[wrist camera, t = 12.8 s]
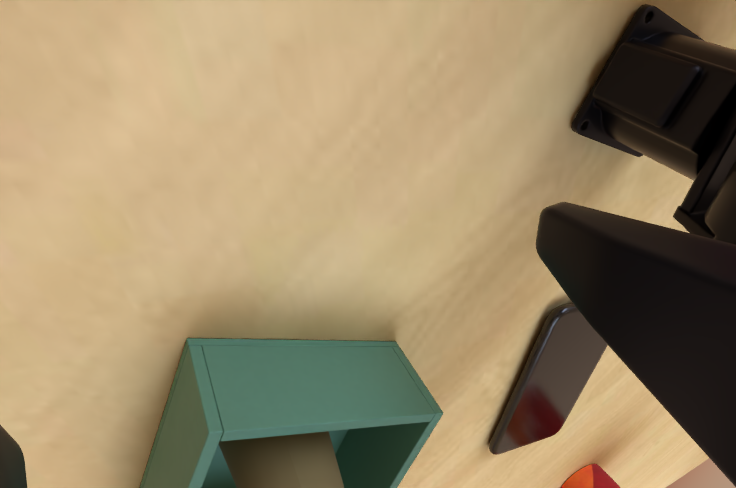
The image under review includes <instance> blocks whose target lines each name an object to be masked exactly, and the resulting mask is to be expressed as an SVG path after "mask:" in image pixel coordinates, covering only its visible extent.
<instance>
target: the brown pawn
mask: <svg viewBox="0 0 736 488" xmlns="http://www.w3.org/2000/svg"><path fill="white" fill-rule="evenodd" d="M219 447H220V449H221V451H222V454H223V456H224V459H225V461H226V463H227V466H228V468H229V470H230V473H231V475H232V477H233V480H234V482H235V484H236V487H237V488H344V485H343V481H342V478H341V474H340V471H339V467H338V463H337V460H336V456H335V452H334V449H333V445H332V442H331V438H330V434H329V431H326V432H315V433H305V434H294V435H284V436H273V437H263V438H252V439H242V440H231V441H219Z"/></svg>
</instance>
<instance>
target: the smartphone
mask: <svg viewBox="0 0 736 488" xmlns="http://www.w3.org/2000/svg"><path fill="white" fill-rule="evenodd" d="M607 345H608V344H607V343H606V342H605V341H604V340H603V339H602V338H601V337H600V335H599V334H598V333H597V332H596V331H595V330H594V329H593V328H592V326H591V325H590V324H589V323H588V322H587V320H586V319H585V318H584V317H583V315H582V314H581V313H580V312H579V310H578V309H577V308H576V306H575V305H574V304H573V303H570V304H565V305H561V306H559V307H557V308H555V309H554V310H553V311H552V312H551V313H550V314H549V315H548V317H547V319H546V321H545V323H544V325H543V328H542V330H541V332H540V334H539V336H538V339H537V341H536V343H535V345H534V347H533V349H532V352H531V354H530V356H529V358H528V360H527V363H526V365H525V367H524V369H523V371H522V374H521V376H520V378H519V380H518V382H517V385H516V387H515V389H514V391H513V393H512V396H511V398H510V400H509V402H508V404H507V406H506V409H505V411H504V413H503V415H502V417H501V420H500V422H499V424H498V426H497V428H496V431H495V433H494V435H493V437H492V439H491V442H490V444H489V450H490V452H491V453H493V454H501V453H504V452H507V451H510V450H513V449H516V448H519V447H522V446H525V445H528V444H530V443H533V442H536V441H539V440H542V439H545V438H548V437H551V436H553V435H555V434H556V433H557V432H558V431H559V430H560V429H561V428H562V426H563V424H564V422H565V421H566V419H567V417H568V415H569V413H570V412H571V410H572V408H573V406H574V404H575V403H576V401H577V399H578V397H579V396H580V394H581V392H582V390H583V388H584V387H585V385H586V383H587V381H588V379H589V378H590V376H591V374H592V372H593V370H594V369H595V367H596V365H597V363H598V362H599V360H600V358H601V356H602V354H603V353H604V351H605V349H606V347H607Z"/></svg>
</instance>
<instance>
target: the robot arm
mask: <svg viewBox="0 0 736 488" xmlns="http://www.w3.org/2000/svg"><path fill="white" fill-rule="evenodd" d="M572 130H573V131H574V132H576V133H578V134H580V135H582V136H585V137H587V138H590V139H593V140H595V141H598V142H601V143H603V144H606V145H608V146H611V147H614V148H616V149H619V150H621V151H624V152H627V153H629V154H632V155H635V156H637V157H640V156H643V155H645V156H647V157H649V158H651V159H653V160H655V161H657V162H659V163H661V164H663V165H665V166H667V167H669V168H671V169H673V170H675V171H676V172H678V173H680V174H682V175H684V176H686V177H688V178H690V179H692V180H694V182H693V184H692V186H691V188H690V190H689V191H688V193H687V195H686V197H685V199H684V201H683V203H682V205H681V206H678V208H677V210H676V211H675V213H674V215H673V217H674V218H675V219H676V220H677V221H678V222H679V223H680V224H682V225H683V226H684V227H685V229H686V230H687V231H688V232H690V233H687V232H683V231H679V230H675V229H671V228H667V227H663V226H659V225H655V224H651V223H647V222H643V221H639V220H635V219H631V218H627V217H623V216H619V215H615V214H611V213H607V212H603V211H599V210H595V209H591V208H587V207H583V206H579V205H575V204H571V203H567V202H561V203H557V204H555V205H552V206H549V207H546V208H545V209H543V210H542V212H541V214H540V218H539V225H538V231H537V238H536V249H537V253H538V255H539V257H540V258H541V260H542V261H543V262H544V264H545V265H546V267H547V268H548V269H549V271H550V272H551V273H552V275H553V276H554V277H555V279H556V280H557V282H558V283H559V284H560V286H561V287H562V288H563V290H564V291H565V293H566V294H567V295H568V297H569V298H570V299H571V301H572V302H573V304H574V305H575V306H576V308H577V309H578V310H579V312H580V313H581V314H582V315H583V317H584V318H585V319H586V320H587V322H588V323H589V324H590V325H591V326H592V328H593V329H594V330H595V331H596V332H597V333H598V334H599V335H600V337H601V338H602V339H603V340H604V341H605V342H606V343H607V344H608V345H609V347H610V348H611V349H612V350H613V351H614V352H615V353H616V354H617V355H618V357H619V358H620V359H621V360H622V361H623V362H624V363H625V364H626V365H627V367H628V368H629V369H630V370H631V371H632V372H633V373H634V374H635V375H636V377H637V378H638V379H639V380H640V381H641V382H642V383H643V384H644V385H645V387H646V388H647V389H648V390H649V391H650V392H651V393H652V394H653V395H654V397H655V398H656V399H657V400H658V401H659V402H660V403H661V404H662V405H663V407H664V408H665V409H666V410H667V411H668V412H669V413H670V414H671V415H672V417H673V418H674V419H675V420H676V421H677V422H678V423H679V424H680V425H681V427H682V428H683V429H684V430H685V431H686V432H687V433H688V434H689V435H690V437H691V438H692V439H693V440H694V441H695V442H696V443H697V444H698V445H699V447H700V448H701V449H702V450H703V451H704V452H705V453H706V454H707V455H708V457H709V458H710V459H711V460H712V461H713V462H714V463H715V464H716V465H717V467H718V468H719V469H720V470H721V471H722V472H723V473H724V474H725V475H726V477H727V478H728V479H729V480H730V481H731V482H732V483H733V484H734V486H735V487H736V50H734V49H730V48H727V47H723V46H720V45H716V44H713V43H709V42H706V41H704V40H702V39H701V38H700V37H698V36H697V35H695V34H694V33H692V32H691V31H690V30H688V29H687V28H685V27H684V26H682V25H681V24H680V23H678V22H677V21H675V20H674V19H672V18H671V17H670V16H668V15H667V14H665V13H664V12H662V11H661V10H660V9H658V8H657V7H655V6H651V5H647V4H645V5H642V6H641V7H640V8H639V9H638V10H637V12H636V14H635V15H634V17H633V19H632V20H631V22H630V24H629V26H628V27H627V29H626V31H625V33H624V34H623V36H622V38H621V39H620V41H619V43H618V45H617V46H616V48H615V50H614V51H613V53H612V55H611V57H610V58H609V60H608V62H607V64H606V65H605V67H604V69H603V70H602V72H601V74H600V76H599V77H598V79H597V81H596V83H595V84H594V86H593V88H592V89H591V91H590V93H589V95H588V96H587V98H586V100H585V101H584V103H583V105H582V107H581V108H580V110H579V112H578V114H577V115H576V117H575V119H574V120H573V123H572ZM0 488H27V481H26V471H25V461H24V456H23V453H22V450H21V448H20V446H19V445H18V444H17V442H16V441H15V440H14V439H13V438H12V437H11V436H10V435H9V434H8V433H7V432H6V431H5V429H4V428H3V427H2V426H1V425H0Z"/></svg>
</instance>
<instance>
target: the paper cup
mask: <svg viewBox="0 0 736 488" xmlns="http://www.w3.org/2000/svg"><path fill="white" fill-rule="evenodd" d="M561 488H620V487H619V486H618V485H617V483H616V482H615V481H614V480H613V479H612V478H611V477H610V476H609V475H608V474H607V473H606V472H605V471H604V470H603V469H602V468H601V467H600V466H598V465H597V464H591V465H588V466H586V467H584V468H582V469H580V470H579V471H577V472H576V473H574V474H573V475H572V476H571V477H570V478H569V479H568V480H567V481H566V482H565V483H564V484H563V485H562V487H561Z"/></svg>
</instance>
